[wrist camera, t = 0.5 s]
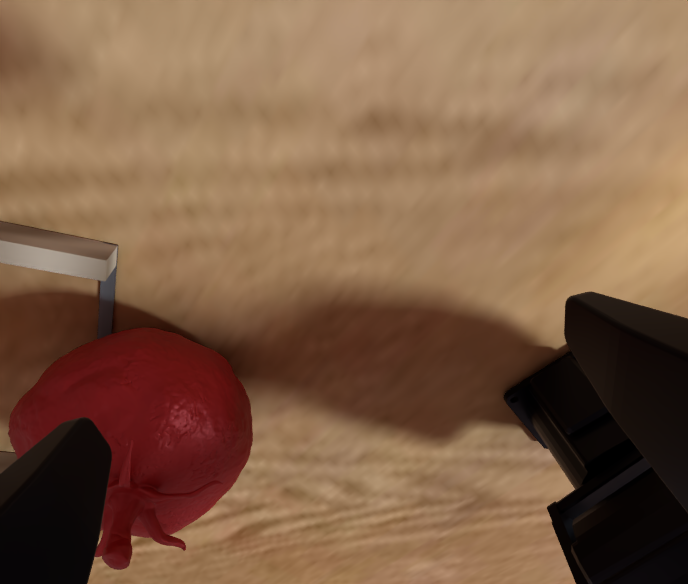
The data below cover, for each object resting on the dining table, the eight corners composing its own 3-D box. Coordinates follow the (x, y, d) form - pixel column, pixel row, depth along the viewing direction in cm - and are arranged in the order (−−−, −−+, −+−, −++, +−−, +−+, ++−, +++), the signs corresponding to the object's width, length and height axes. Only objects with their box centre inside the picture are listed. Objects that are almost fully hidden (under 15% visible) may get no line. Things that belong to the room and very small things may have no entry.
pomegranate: (156, 263, 20) (85, 410, 12) (291, 387, 25) (302, 551, 17) (7, 374, 22) (-139, 567, 14) (160, 471, 27) (115, 654, 19)
